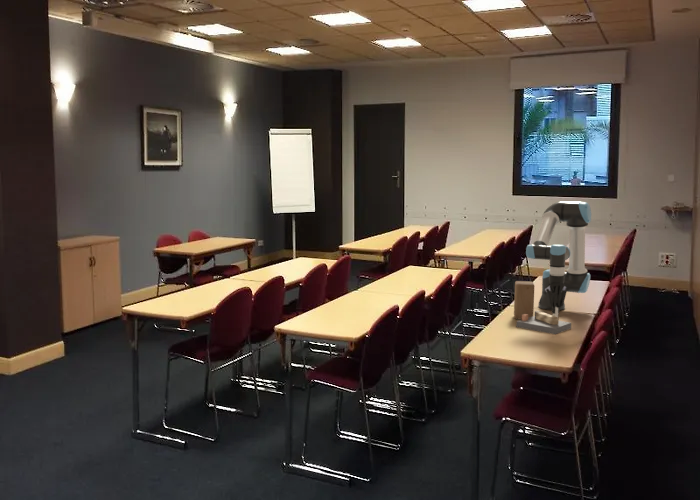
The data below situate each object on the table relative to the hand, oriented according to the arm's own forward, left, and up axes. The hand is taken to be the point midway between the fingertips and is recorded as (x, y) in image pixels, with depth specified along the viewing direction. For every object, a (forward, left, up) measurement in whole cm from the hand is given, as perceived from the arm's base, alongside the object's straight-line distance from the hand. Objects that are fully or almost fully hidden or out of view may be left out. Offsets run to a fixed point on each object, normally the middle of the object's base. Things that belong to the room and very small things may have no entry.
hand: (555, 319), depth 343 cm
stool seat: (+2, -5, -5) cm, 7 cm away
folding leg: (0, -5, -2) cm, 5 cm away
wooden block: (-10, -24, -5) cm, 27 cm away
